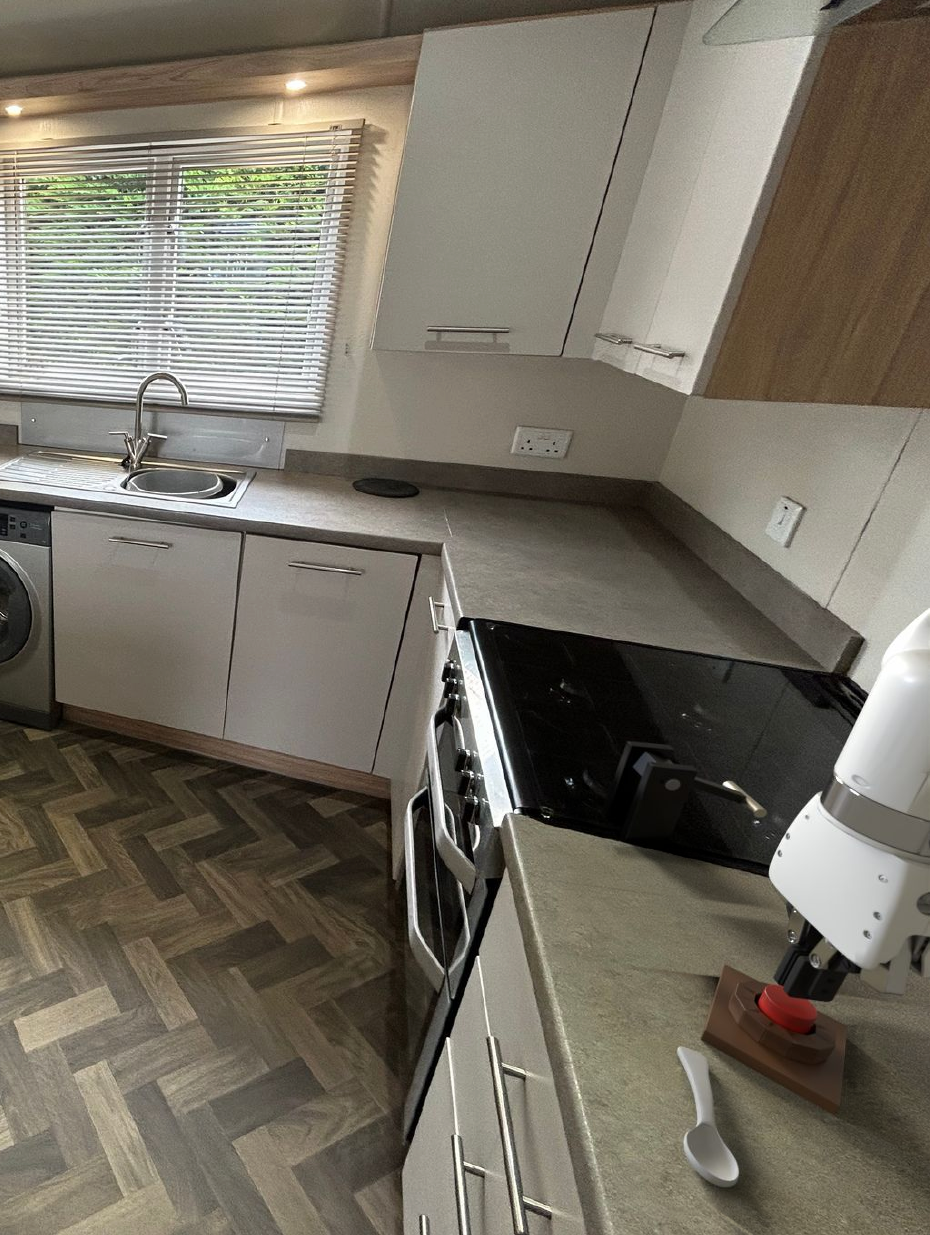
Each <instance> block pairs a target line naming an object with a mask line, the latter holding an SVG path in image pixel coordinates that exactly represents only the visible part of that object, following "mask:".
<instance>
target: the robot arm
mask: <svg viewBox="0 0 930 1235" xmlns="http://www.w3.org/2000/svg"><path fill="white" fill-rule="evenodd" d="M768 877H769V879H770V881H771V886H772V888H773V890H774V891H775V893H776V894H777V896H778V897H779V898H780V899H781V901H782V902H783V904H784V905H785V908H786V912H787V913H786V914H787V916H788V923H787V926H786V929H785V937H786V939H787V941H788V942H789V943H790V944H789V946H788V947H787V949H786V951H785V953H784V955H783V957H782V959H781V961H780V963H779V965H778V966H777V969H776V971H775V972H774V975H773V977H772V978H773V980H774V981H775V983H777V985H779V986H783V990H784V991H785V992H786V994H787V995H788V996H789V997H792V998H800V999H807V1000H808V1001H813V1002H814V1001H815V1002H823V1003H830V1002H832V1001H833V1000H834V999H835V997H836V995H837V994H838V991H839V990H840V988H841V986H842V984H843V983H844V981H845V980H846V977H847V976H848V974H851V975H852V974H853V975H855V976H856V977H858V979H859V980H860V981H862V982H863V983H864V984H866V985H867V986H868V987H870V988H871V989H873V990H874V991H876V992H877V993H879V994H884V995H891V996H899V997H900V996H901V997H902V996H904V994H905V993H906V987H907V984H908V978H909V974H910V971H911V972H913V973H915V974H916V975H918V976H919V977H921V978H923V979H930V607H928V608H927V609H926V610H925V611H924V612H922V613H921V614H920V615H918V616H917V617H916V618H915V619H914V620H912V622H910V623H909V624H908V625H907V626H906V627H905V628H904V629H903V630H902V631H901V632H899V634H897V636H895V638H894V639H893V640H892V641H891V643H890V644H889V646H888V647H887V649H886V650H885V652H884V654H883V656H882V659H881V662H880V672H879V674H878V675H877V678H876V679H875V682H874V683H873V686H872V688H871V690H870V692H869V694H868V696H867V698H866V700H865V703H864V704H863V707H862V709H861V710H860V713H859V715H858V717H857V719H856V721H855V723H854V725H853V727H852V730H851V731H850V733H849V736H848V737H847V739H846V742H845V744H844V746H843V748H842V750H841V752H840V754H839V756H838V758H837V760H836V762H835V764H834V767H833V769H832V770H831V772H830V775H829V777H828V779H827V781H826V784H825V786H824V788H823V790H821V791H818V792H816V794H815V795H814V796H812V798H810V800H809V801H808V802H807V803H806V804H805V806H804V807H802V809H801V810H800V812H799V813H798V814H797V815H796V817H795V818H794V820H793V821H792V822H791V824H790V826H789V827H788V829H787V830H786V832H785V834H784V835H783V837H782V839H781V841H780V842H779V844H778V846H777V848H776V851H775V852H774V855H773V857H772V859H771V862H770V864H769V870H768Z"/></svg>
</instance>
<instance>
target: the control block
mask: <svg viewBox="0 0 930 1235" xmlns="http://www.w3.org/2000/svg"><path fill="white" fill-rule="evenodd" d="M768 985H773V984H772V983H767V982H763V981H759V980H758V979H755V978H753V977H751V976H749V975H747V974H746V973H743V972H742V971H740V970H738V969H735V968H734V967H731V966H730V965H728V964H726V963H724V964H723V965H722V968H721V971H720V975H719V977H718V978H717V981H716V984H715V989H714V992H713V995H712V997H711V1002H710V1005H709V1008H708V1011H707V1015H706V1018H705V1022H704V1024H703V1028H702V1032H701V1036H700V1040H701V1041H702V1042H704V1043H706V1044H708V1045H709V1046H711V1047H712V1048H714V1049H716V1050H718V1051H720V1052H722V1053H724V1054H725V1055H727V1056H728V1057H731V1058H732V1059H734V1060H735V1061H737V1062H739V1063H741V1064H743V1065H745V1066H746V1067H747V1068H750V1070H751V1069H752V1070H753V1071H755V1072H757V1073H758V1074H760V1075H762V1076H764V1077H766V1078H767V1079H769V1080H770V1081H773V1082H774V1083H776V1084H778V1085H780V1086H781V1087H783V1088H785V1089H787V1090H788V1091H790V1092H792V1093H794V1094H795V1095H797V1096H799V1097H800V1098H802V1099H804V1100H805V1101H808V1102H809V1103H811V1104H813V1105H814V1106H817V1107H818V1108H820V1109H822V1110H823V1111H825V1112H827V1113H829V1114H830V1115H832V1116H835V1115H836V1113H837V1111H838V1110H839V1108H840V1107H841V1098H842V1097H841V1096H842V1089H843V1088H842V1087H843V1078H844V1077H843V1076H844V1069H845V1068H844V1066H845V1055H846V1047H847V1046H846V1044H847V1036H848V1035H847V1034H848V1025H847V1024H845V1023H843V1022H841V1021H839V1020H837V1019H835V1018H833V1017H831V1016H829V1015H827V1014H825V1013H823V1012H821V1011H819V1010H817V1013H818V1017H817V1019H816V1020H815V1022H814V1024H813V1026H812V1027H811V1029H810V1031H809V1032H808V1033H805V1034H799V1033H795V1032H791V1031H789V1030H787V1029H785V1028H783V1027H781V1026H779V1025H777V1024H775V1023H774V1022H773V1021H771V1020H770V1019H769V1018H768V1017H766V1016H765V1015H764V1014H763V1013H762V1012H761V1011H760V1009H759V1007H758V1001H759V999H760V997H761V995H762V993H763V991H764V989H765V987H766V986H768Z"/></svg>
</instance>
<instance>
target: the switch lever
mask: <svg viewBox="0 0 930 1235" xmlns="http://www.w3.org/2000/svg"><path fill="white" fill-rule="evenodd" d="M648 761H649V762H659V763H669V764H674V762H672V760H669V759H667V758H664V757H661V756H658V755H655V754H652V753H649V752H646V751H645V752H644V753H643V754H642V756H641V757H640V758H639V759H638V761H637V762H636V763H635V764H634V766H633V768H634V769H635V770H636V771H637V772H638V773H639V774H640V775H641V776H643V773H644V771H645V768H646V765H647V763H648ZM691 788H693V789H697V790H699V791H703V792H705V793H708V794H711V795H714V796H716V797H720V798H721V799H725V800H728V801H731V802H734V803H737V804H740V805H741V806H743V807H744V808H745V809H746V810H747V811H748V812H749V813H750V814H751V815H753V816H754V818H756V819H757V818H758V819H761V818H764V817H766V816H767V814H768V812H767V809H765V808H764V807H763V806H762V805H760V803H758V802H757V801H756V800H754V798H752V797H751V796H750V795H749V794H748V793H747V792H745V791H744V790H743V789H742V788H741V787H740V786H739V785H737V784H736V783H735V782H734V781H732V780H726V781H724V782H723V783H722V784H719V783H717V782H714V781H710V780H708V779H704V778H702V777H699V776H696V777H695V780H694V782H693V784H692V787H691Z"/></svg>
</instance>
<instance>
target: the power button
mask: <svg viewBox="0 0 930 1235" xmlns="http://www.w3.org/2000/svg"><path fill="white" fill-rule="evenodd" d="M758 1007H759V1009H760V1011H761V1012H762V1013H763V1014H764V1015H765V1016H766V1017H768V1018H769V1019H770V1020H771V1021H773V1022H774V1023H775V1024H777V1025H779V1026H781V1027H783V1028H785V1029H787V1030H789V1031H791V1032H795V1033H799V1034H805V1033H808V1032H809V1031H810V1029H811V1027H812V1026H813V1024H814V1022H815V1020H816V1019H817V1017H818V1013H817V1011H818V1010H817V1008H816V1006H814V1005H813V1004H812V1002H811V1001H810V1000H807V999H800V998H792V997H789V996H788V995H787V994H786V992H785V991H784V990H783V986H780V985H779V984H772V985H768V986H766V987H765V989H764V991H763V993H762V995H761V997H760V999H759V1001H758Z"/></svg>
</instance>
